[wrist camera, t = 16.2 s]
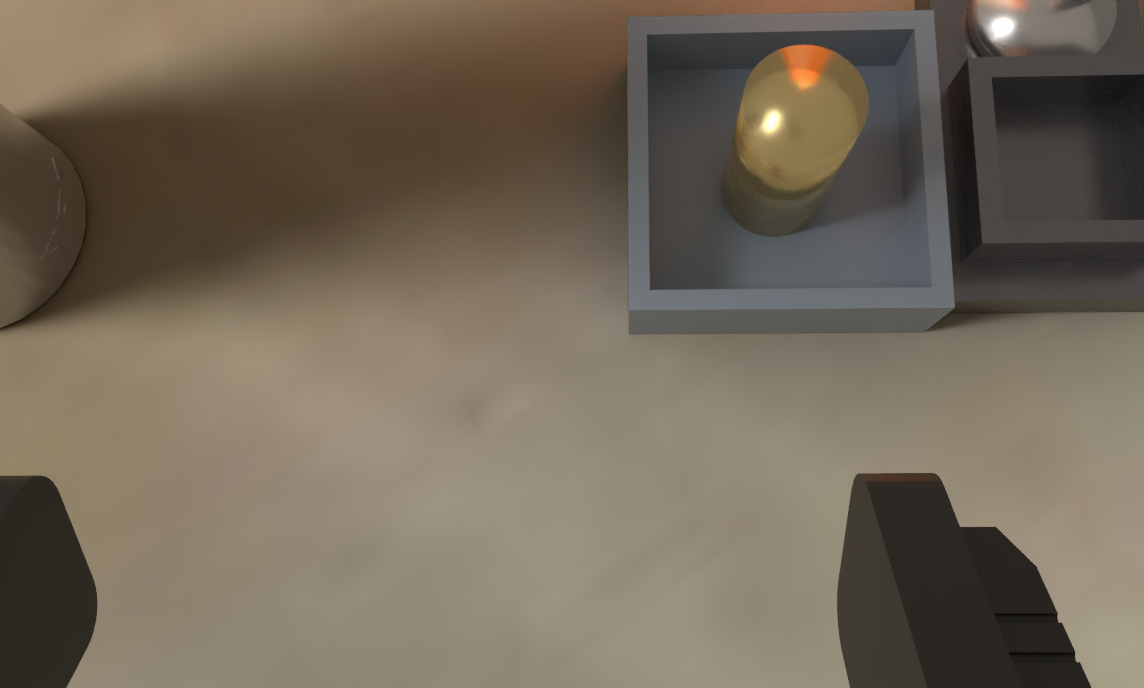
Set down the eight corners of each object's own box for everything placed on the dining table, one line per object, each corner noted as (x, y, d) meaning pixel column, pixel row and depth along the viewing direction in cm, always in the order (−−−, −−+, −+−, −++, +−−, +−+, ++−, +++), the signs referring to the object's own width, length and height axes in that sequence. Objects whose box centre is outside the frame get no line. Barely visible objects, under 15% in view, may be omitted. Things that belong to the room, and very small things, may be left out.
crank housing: (936, 313, 42) (988, 269, 36) (914, -13, 45) (958, -104, 39) (1146, 311, 41) (1234, 267, 35) (1110, -18, 44) (1186, -110, 38)
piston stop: (722, 237, 42) (744, 162, 34) (720, 141, 43) (740, 45, 35) (826, 236, 42) (872, 159, 34) (821, 139, 42) (865, 42, 35)
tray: (629, 334, 42) (629, 310, 38) (627, 65, 45) (626, 16, 41) (924, 332, 42) (954, 307, 38) (906, 59, 44) (933, 10, 40)
